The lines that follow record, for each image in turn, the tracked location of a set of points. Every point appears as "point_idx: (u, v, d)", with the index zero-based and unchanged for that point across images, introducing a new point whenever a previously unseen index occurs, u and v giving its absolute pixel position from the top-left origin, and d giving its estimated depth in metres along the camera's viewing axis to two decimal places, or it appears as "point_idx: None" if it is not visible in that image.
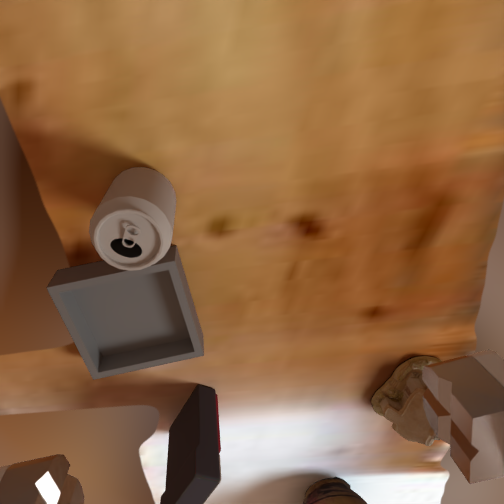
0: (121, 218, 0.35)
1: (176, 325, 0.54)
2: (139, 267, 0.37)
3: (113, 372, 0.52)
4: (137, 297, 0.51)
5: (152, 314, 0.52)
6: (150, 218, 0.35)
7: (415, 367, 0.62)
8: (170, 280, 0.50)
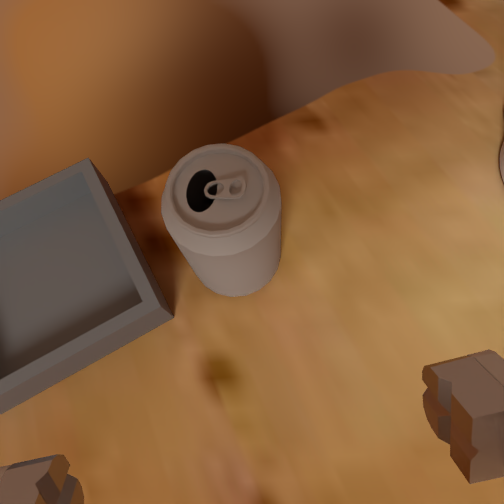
0: (248, 174, 0.24)
1: (25, 356, 0.31)
2: (174, 210, 0.23)
3: None
4: (77, 281, 0.33)
5: (47, 311, 0.32)
6: (264, 206, 0.22)
7: None
8: None
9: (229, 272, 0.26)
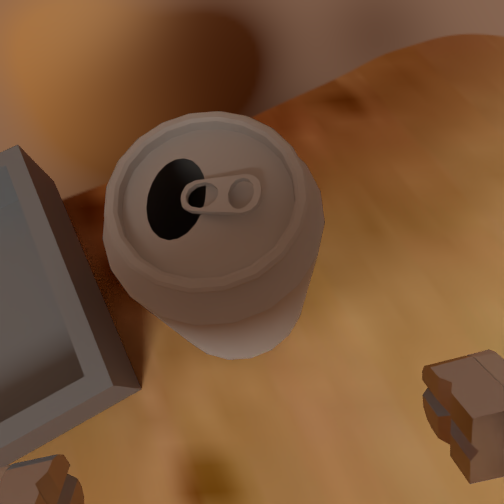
0: (264, 168, 0.13)
1: None
2: (120, 237, 0.11)
3: None
4: None
5: None
6: (297, 230, 0.11)
7: None
8: None
9: (227, 340, 0.15)
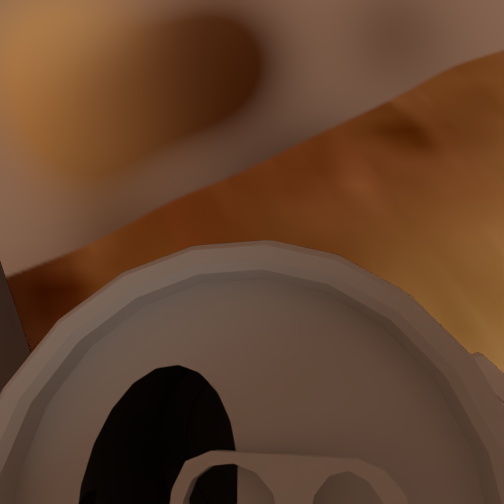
0: (391, 402, 0.05)
1: None
2: None
3: None
4: None
5: None
6: None
7: None
8: None
9: None
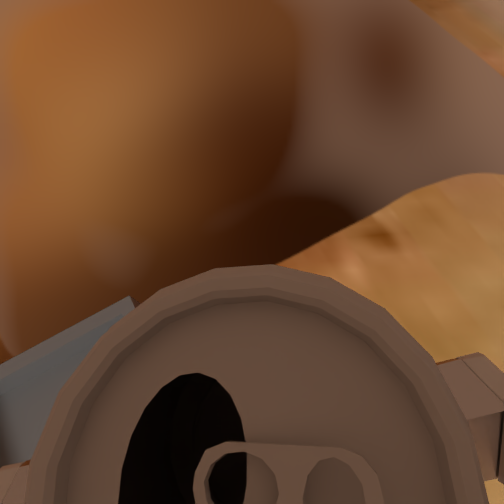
0: (370, 404, 0.06)
1: None
2: None
3: None
4: None
5: None
6: None
7: None
8: None
9: None
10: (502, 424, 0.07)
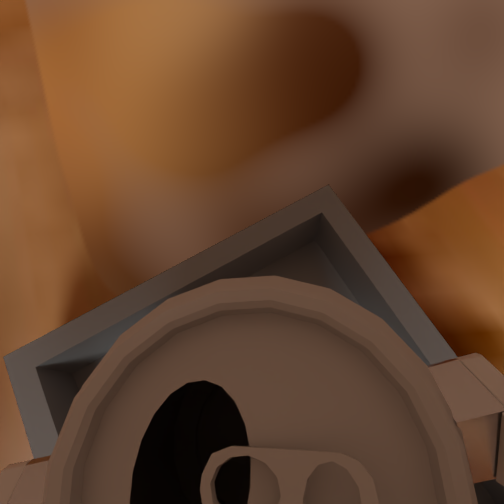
0: (367, 411, 0.06)
1: None
2: None
3: (38, 419, 0.14)
4: None
5: None
6: None
7: None
8: None
9: None
10: (500, 424, 0.07)
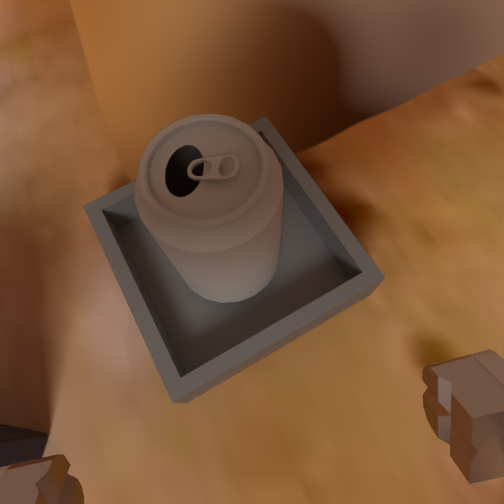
0: (243, 151, 0.19)
1: (211, 337, 0.27)
2: (148, 194, 0.18)
3: (105, 233, 0.27)
4: None
5: None
6: (262, 189, 0.18)
7: None
8: (308, 298, 0.28)
9: (219, 274, 0.21)
10: None
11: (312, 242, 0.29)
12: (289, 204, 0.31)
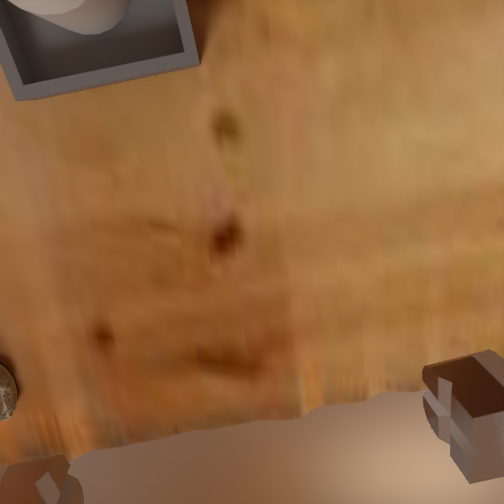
0: None
1: (58, 55, 0.33)
2: None
3: None
4: None
5: None
6: None
7: None
8: (146, 52, 0.34)
9: (50, 20, 0.26)
10: None
11: None
12: None
